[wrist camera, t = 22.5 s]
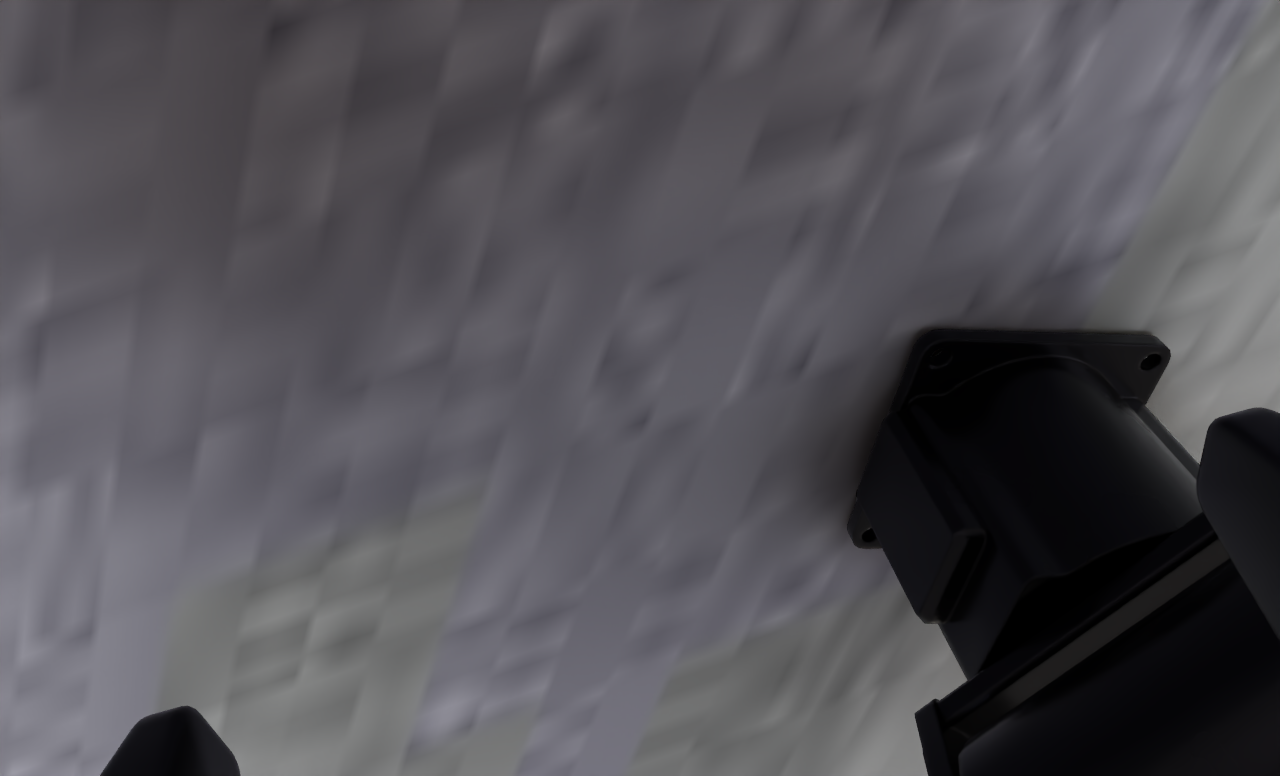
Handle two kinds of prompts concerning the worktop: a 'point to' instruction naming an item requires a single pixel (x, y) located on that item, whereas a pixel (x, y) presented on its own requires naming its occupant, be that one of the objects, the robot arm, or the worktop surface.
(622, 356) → the worktop surface
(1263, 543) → the robot arm
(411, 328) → the worktop surface
